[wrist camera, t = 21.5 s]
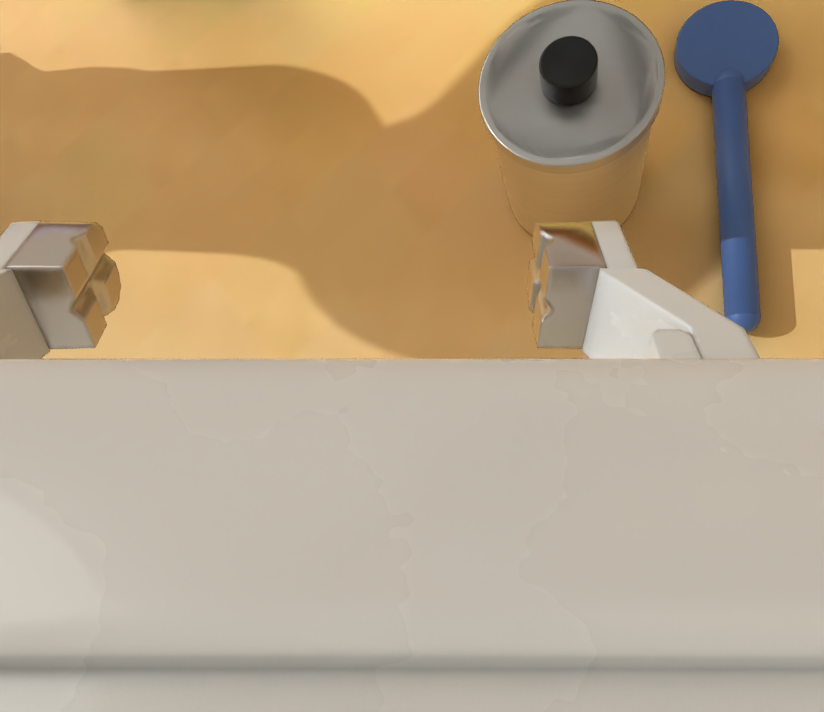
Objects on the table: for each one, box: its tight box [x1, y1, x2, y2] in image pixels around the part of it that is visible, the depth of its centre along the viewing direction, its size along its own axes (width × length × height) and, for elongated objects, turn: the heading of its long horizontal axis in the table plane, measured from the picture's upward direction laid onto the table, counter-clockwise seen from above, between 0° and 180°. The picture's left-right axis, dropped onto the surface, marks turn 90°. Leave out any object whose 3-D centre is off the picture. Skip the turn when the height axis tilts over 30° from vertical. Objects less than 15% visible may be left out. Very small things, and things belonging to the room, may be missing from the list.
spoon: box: [674, 0, 779, 333], centre depth 31 cm, size 16×4×1 cm, turn 179°
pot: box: [478, 0, 665, 236], centre depth 29 cm, size 7×7×10 cm
